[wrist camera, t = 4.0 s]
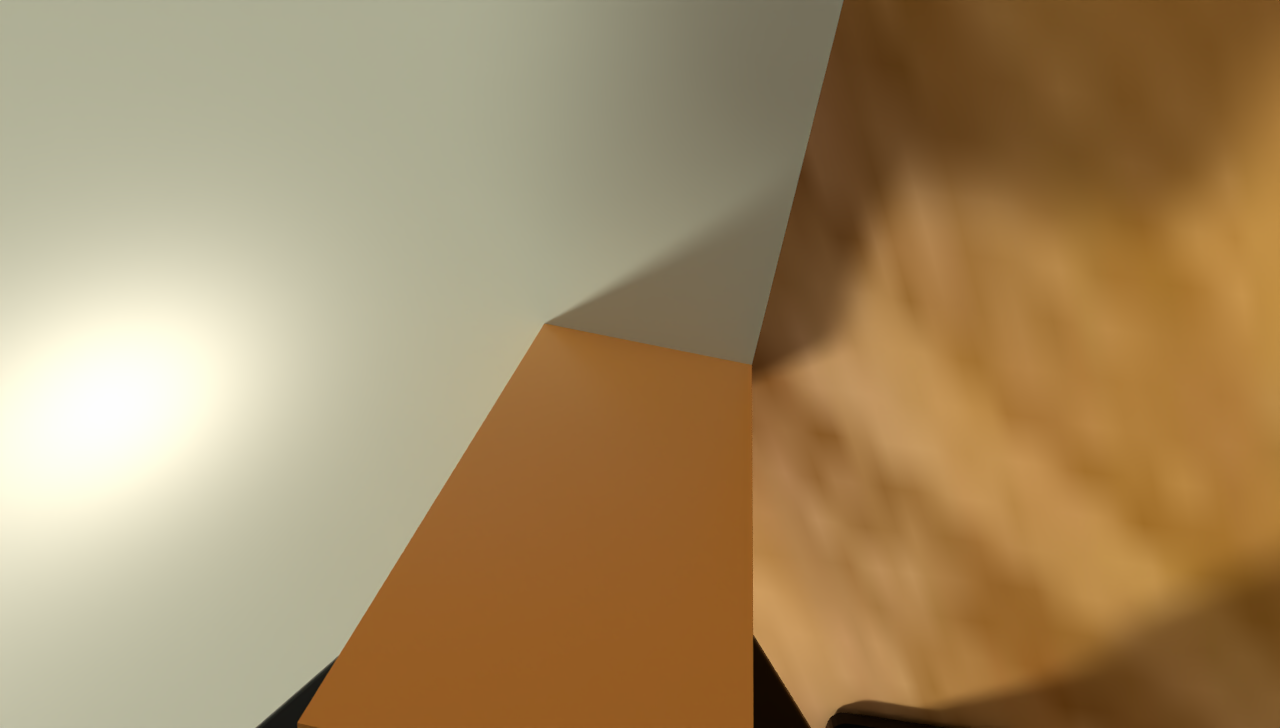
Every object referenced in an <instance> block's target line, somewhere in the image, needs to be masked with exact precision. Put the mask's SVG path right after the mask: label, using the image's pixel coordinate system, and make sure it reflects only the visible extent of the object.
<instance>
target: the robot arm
mask: <svg viewBox="0 0 1280 728" xmlns="http://www.w3.org/2000/svg"><path fill="white" fill-rule="evenodd" d="M337 658H338V657H336V658H335V659H334V660H333V661H332V662H331V663H330V664H328V665H327V666H326V667H325V668H324V669H323V670H321V671H320V672H319V673H318V674H317V675H316V676H315V677H313V678H312V679H311V680H310V681H309V682H308V683H306V684H305V685H304V686H303V687H302V688H301V689H300V690H298V691H297V692H296V693H295V694H294V695H293V696H291V697H290V698H289V699H288V700H287V701H286V702H285V703H283V704H282V705H281V706H280V707H279V708H278V709H276V710H275V711H274V712H273V713H272V714H271V715H270V716H268V717H267V718H266V719H265V720H264V721H263V722H261V723H260V724H259V725H258V726H257V727H256V728H297V722H298V721H299V719H300V718H301V716H302V714H303V713H304V711H305V709H306V708H307V706H308V705H309V703H310V701H311V700H312V698H313V697H314V695H315V693H316V692H317V690H318V688H319V687H320V685H321V684H322V682H323V680H324V679H325V677H326V676H327V674H328V672H329V671H330V669H331V667H332V666H333V664H334V663H335V661H336V659H337ZM753 728H811V727H810V725H809V724H808V722H807V721H806V719H805V717H804V716H803V714H802V713H801V711H800V709H799V708H798V706H797V704H796V703H795V701H794V700H793V698H792V696H791V695H790V693H789V692H788V690H787V688H786V687H785V685H784V683H783V682H782V680H781V679H780V677H779V675H778V674H777V672H776V671H775V669H774V667H773V666H772V664H771V662H770V661H769V659H768V658H767V656H766V654H765V653H764V651H763V650H762V648H761V646H760V645H759V643H758V642H757V640H756V638H755V637H754V635H753ZM826 728H942V727H935V726H929V725H922V724H916V723H909V722H903V721H896V720H890V719H883V718H877V717H870V716H863V715H857V714H850V713H839V714H835V715H834V716H832V717H831V718H830V719H829V721H828V723H827V725H826Z"/></svg>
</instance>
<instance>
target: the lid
mask: <svg viewBox="0 0 1280 728" xmlns="http://www.w3.org/2000/svg"><path fill="white" fill-rule="evenodd" d="M843 1H844V0H0V728H256V727H257V726H258V725H259V724H260V723H261V722H263V721H264V720H265V719H266V718H267V717H268V716H270V715H271V714H272V713H273V712H274V711H275V710H276V709H278V708H279V707H280V706H281V705H282V704H283V703H285V702H286V701H287V700H288V699H289V698H290V697H291V696H293V695H294V694H295V693H296V692H297V691H298V690H300V689H301V688H302V687H303V686H304V685H305V684H306V683H308V682H309V681H310V680H311V679H312V678H313V677H315V676H316V675H317V674H318V673H319V672H320V671H321V670H323V669H324V668H325V667H326V666H327V665H328V664H330V663H331V662H332V661H333V660H334V659H335V658H336V657H338V658H337V659H336V661H335V663H334V664H333V666H332V667H331V669H330V671H329V672H328V674H327V676H326V677H325V679H324V680H323V682H322V684H321V685H320V687H319V688H318V690H317V692H316V693H315V695H314V697H313V698H312V700H311V701H310V703H309V705H308V706H307V708H306V709H305V711H304V713H303V714H302V716H301V718H300V719H299V721H298V722H297V728H753V519H752V362H753V358H754V354H755V350H756V346H757V342H758V338H759V334H760V330H761V326H762V323H763V319H764V315H765V311H766V307H767V303H768V299H769V295H770V291H771V287H772V283H773V279H774V275H775V271H776V267H777V263H778V259H779V255H780V251H781V247H782V243H783V239H784V235H785V231H786V227H787V223H788V219H789V215H790V211H791V207H792V203H793V199H794V195H795V191H796V187H797V183H798V179H799V175H800V172H801V168H802V164H803V160H804V156H805V152H806V148H807V144H808V140H809V136H810V132H811V128H812V124H813V120H814V116H815V112H816V108H817V104H818V100H819V96H820V92H821V88H822V84H823V80H824V76H825V72H826V68H827V64H828V60H829V56H830V52H831V48H832V44H833V40H834V36H835V32H836V28H837V24H838V20H839V17H840V13H841V9H842V5H843Z"/></svg>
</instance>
